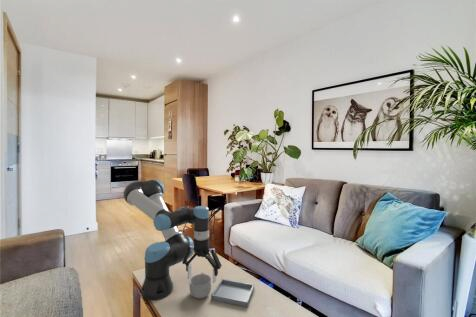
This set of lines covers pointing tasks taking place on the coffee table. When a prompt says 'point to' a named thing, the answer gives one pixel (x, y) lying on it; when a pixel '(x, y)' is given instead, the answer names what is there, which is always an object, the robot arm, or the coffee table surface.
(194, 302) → the coffee table surface
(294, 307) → the coffee table surface
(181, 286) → the coffee table surface
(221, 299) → the tray
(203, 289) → the teacup
